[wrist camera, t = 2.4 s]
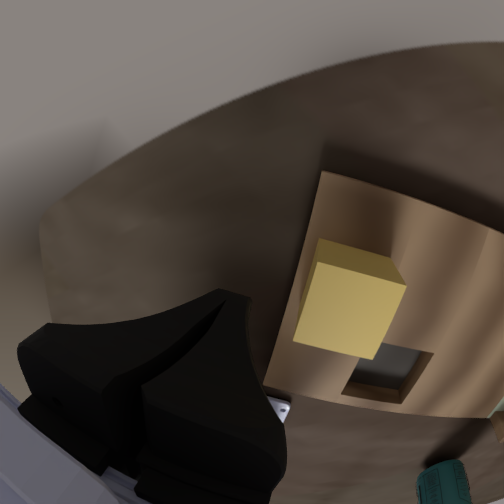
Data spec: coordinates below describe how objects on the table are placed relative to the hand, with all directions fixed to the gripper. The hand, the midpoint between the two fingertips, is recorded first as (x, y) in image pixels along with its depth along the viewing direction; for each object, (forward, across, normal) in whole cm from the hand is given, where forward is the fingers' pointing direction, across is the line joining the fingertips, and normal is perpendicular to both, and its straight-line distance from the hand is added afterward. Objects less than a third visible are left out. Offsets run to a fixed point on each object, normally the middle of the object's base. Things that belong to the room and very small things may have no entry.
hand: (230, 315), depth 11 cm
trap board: (+9, -17, +2) cm, 20 cm away
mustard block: (+8, -5, 0) cm, 9 cm away
